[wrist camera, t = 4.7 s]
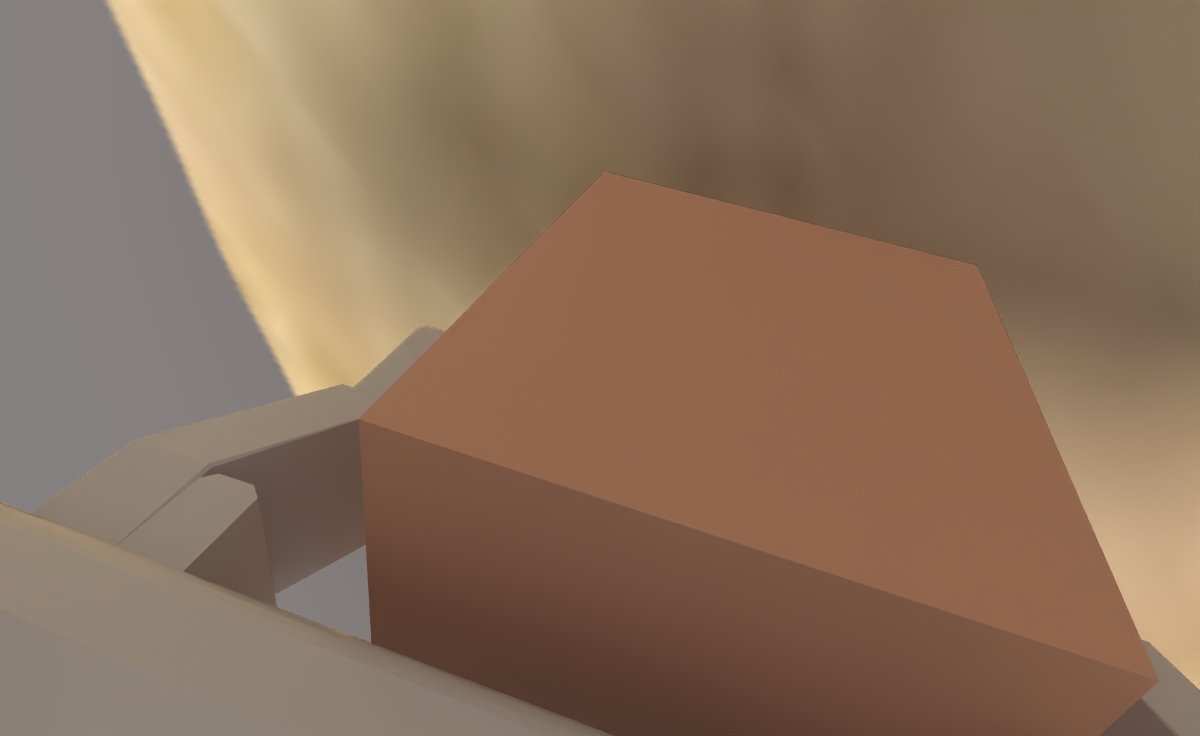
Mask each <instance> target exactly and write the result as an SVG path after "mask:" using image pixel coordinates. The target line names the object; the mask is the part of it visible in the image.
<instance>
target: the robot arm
mask: <svg viewBox="0 0 1200 736" xmlns="http://www.w3.org/2000/svg"><path fill="white" fill-rule="evenodd" d="M445 332H446V331H443V330H439V329H436V328H433V327H429V326H425V327H419V328H418V329H417V330H415V331H414V332H413V333H412V334H411V335H410V336H409V337H408V338H407V339H406V340H405V341H403V342H402V343H401V344H400V345H399V346H398V347H397V348H396V349H395V350H394V351H393V352H392V353H390V354H389V355H388V356H387V357H386V358H385V359H384V360H383V361H382V362H381V363H380V364H379V365H377V366H376V367H375V368H374V369H373V370H372V371H371V372H370V373H369V374H368V375H367V376H365V377H364V378H363V379H362V380H361V381H360V382H359V383H358V384H357V385H356V386H355V387H354V388H353V387H350V386H347V385H343V384H342V385H338V386H334V387H330V388H327V389H323V390H319V391H315V392H311V393H308V394H304V395H300V396H296V397H293V398H289V399H285V400H281V401H278V402H274V403H270V404H266V405H262V406H259V407H255V408H251V409H247V410H244V411H240V412H236V413H232V414H228V415H225V416H221V417H217V418H214V419H209V420H206V421H202V422H199V423H194V424H191V425H187V426H183V427H179V428H175V429H172V430H168V431H164V432H160V433H157V434H153V435H149V436H145V437H141V438H138V439H134V440H132V441H131V442H130V443H128V444H127V445H125V446H124V447H123V448H121V449H120V450H118V451H117V452H116V453H114V454H113V455H111V456H110V457H108V458H107V459H106V460H104V461H103V462H101V463H100V464H99V465H97V466H96V467H94V468H93V469H91V470H90V471H89V472H87V473H86V474H84V475H83V476H82V477H80V478H79V479H77V480H76V481H75V482H73V483H72V484H70V485H69V486H68V487H66V488H65V489H63V490H62V491H60V492H59V493H58V494H56V495H55V496H53V497H52V498H51V499H49V500H48V501H46V502H45V503H43V504H42V505H41V506H39V507H38V508H36V509H35V510H34V511H32V512H31V513H28V512H25V511H23V510H20V509H18V508H15V507H12V506H10V505H7V504H4V503H1V502H0V736H614V735H611V734H609V733H606V732H603V731H601V730H598V729H595V728H593V727H590V726H588V725H585V724H582V723H580V722H577V721H574V720H572V719H569V718H567V717H564V716H561V715H559V714H556V713H554V712H551V711H548V710H546V709H543V708H540V707H538V706H535V705H533V704H530V703H527V702H525V701H522V700H519V699H517V698H514V697H512V696H509V695H506V694H504V693H501V692H498V691H496V690H493V689H491V688H488V687H485V686H483V685H480V684H478V683H475V682H472V681H470V680H467V679H464V678H462V677H459V676H457V675H454V674H451V673H449V672H446V671H443V670H441V669H438V668H435V667H433V666H430V665H428V664H425V663H422V662H420V661H417V660H414V659H412V658H409V657H407V656H404V655H401V654H399V653H396V652H393V651H391V650H388V649H386V648H383V647H380V646H378V645H375V644H372V643H370V642H367V641H365V640H362V639H359V638H357V637H354V636H351V635H349V634H346V633H343V632H341V631H338V630H336V629H333V628H330V627H328V626H325V625H322V624H320V623H317V622H314V621H312V620H309V619H307V618H304V617H301V616H298V615H296V614H293V613H291V612H288V611H285V610H283V609H280V608H278V607H277V603H276V598H275V594H276V593H278V592H280V591H282V590H283V589H286V588H287V587H289V586H291V585H293V584H295V583H296V582H298V581H300V580H302V579H304V578H306V577H307V576H309V575H311V574H313V573H315V572H317V571H318V570H320V569H322V568H324V567H326V566H327V565H329V564H331V563H333V562H335V561H337V560H339V559H340V558H342V557H344V556H346V555H348V554H349V553H351V552H353V551H355V550H357V549H359V548H360V547H362V546H364V545H366V538H365V520H364V503H363V486H362V469H361V452H360V434H359V418H360V417H361V416H362V415H363V414H364V413H365V412H366V411H367V410H368V409H369V408H370V407H371V406H372V405H373V404H374V403H375V402H376V401H377V400H378V399H379V398H380V397H381V396H382V395H383V394H384V393H385V392H386V391H387V390H388V389H389V388H390V387H391V386H392V385H393V384H394V383H395V382H396V381H397V380H398V379H399V378H400V377H401V376H402V375H403V374H404V373H405V372H406V371H407V370H408V369H409V368H410V367H411V366H412V365H413V364H414V363H415V362H416V361H417V360H418V359H419V358H420V357H421V356H422V355H423V354H424V353H425V352H426V351H427V350H428V349H429V348H430V347H431V346H432V345H433V344H434V343H435V342H436V341H437V340H438V339H439V338H440V337H441V336H442V335H443V334H444V333H445ZM1141 641H1142V643H1143V645H1144V647H1145V650H1146V652H1147V654H1148V657H1149V659H1150V661H1151V663H1152V666H1153V668H1154V670H1155V673H1156V675H1157V677H1158V679H1159V682H1158V683H1156V684H1155V685H1154V686H1153V687H1152V688H1151V689H1150V690H1149V691H1148V692H1147V693H1145V694H1144V695H1143V696H1142V697H1141V698H1140V699H1139V700H1138V701H1137V702H1136V703H1134V704H1133V705H1132V706H1131V707H1130V708H1129V709H1128V710H1127V711H1126V712H1124V713H1123V714H1122V715H1121V716H1120V717H1119V718H1118V719H1117V720H1116V721H1115V722H1113V723H1112V724H1111V725H1110V726H1109V727H1108V728H1107V729H1106V730H1105V731H1104V732H1102V733H1101V734H1100V735H1099V736H1200V690H1199V689H1198V688H1197V687H1196V686H1195V685H1194V684H1193V683H1191V682H1190V681H1189V680H1188V679H1187V678H1186V677H1185V676H1184V675H1183V674H1182V673H1181V672H1180V671H1179V670H1178V669H1177V668H1176V667H1174V666H1173V665H1172V664H1171V663H1170V662H1169V661H1168V660H1167V659H1166V658H1165V657H1164V656H1163V655H1162V654H1161V653H1160V652H1159V651H1158V650H1156V649H1155V648H1154V647H1153V646H1152V645H1151V644H1150V643H1149V642H1147V641H1144V640H1141Z"/></svg>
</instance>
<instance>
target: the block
mask: <svg viewBox="0 0 1200 736" xmlns="http://www.w3.org/2000/svg"><path fill="white" fill-rule="evenodd" d="M359 434H360V452H361V469H362V486H363V503H364V520H365V538H366V555H367V572H368V588H369V607H370V623H371V640H372V644H375V645H378V646H380V647H383V648H386V649H388V650H391V651H393V652H396V653H399V654H401V655H404V656H407V657H409V658H412V659H414V660H417V661H420V662H422V663H425V664H428V665H430V666H433V667H435V668H438V669H441V670H443V671H446V672H449V673H451V674H454V675H457V676H459V677H462V678H464V679H467V680H470V681H472V682H475V683H478V684H480V685H483V686H485V687H488V688H491V689H493V690H496V691H498V692H501V693H504V694H506V695H509V696H512V697H514V698H517V699H519V700H522V701H525V702H527V703H530V704H533V705H535V706H538V707H540V708H543V709H546V710H548V711H551V712H554V713H556V714H559V715H561V716H564V717H567V718H569V719H572V720H574V721H577V722H580V723H582V724H585V725H588V726H590V727H593V728H595V729H598V730H601V731H603V732H606V733H609V734H611V735H614V736H1099V735H1100V734H1101V733H1102V732H1104V731H1105V730H1106V729H1107V728H1108V727H1109V726H1110V725H1111V724H1112V723H1113V722H1115V721H1116V720H1117V719H1118V718H1119V717H1120V716H1121V715H1122V714H1123V713H1124V712H1126V711H1127V710H1128V709H1129V708H1130V707H1131V706H1132V705H1133V704H1134V703H1136V702H1137V701H1138V700H1139V699H1140V698H1141V697H1142V696H1143V695H1144V694H1145V693H1147V692H1148V691H1149V690H1150V689H1151V688H1152V687H1153V686H1154V685H1155V684H1156V683H1158V682H1159V679H1158V677H1157V675H1156V673H1155V670H1154V668H1153V666H1152V663H1151V661H1150V659H1149V657H1148V654H1147V652H1146V650H1145V647H1144V645H1143V643H1142V641H1141V638H1140V636H1139V634H1138V631H1137V629H1136V627H1135V625H1134V622H1133V620H1132V618H1131V615H1130V613H1129V611H1128V609H1127V606H1126V604H1125V602H1124V599H1123V597H1122V595H1121V593H1120V590H1119V588H1118V586H1117V584H1116V581H1115V579H1114V577H1113V574H1112V572H1111V570H1110V568H1109V565H1108V563H1107V561H1106V558H1105V556H1104V554H1103V552H1102V549H1101V547H1100V545H1099V542H1098V540H1097V538H1096V536H1095V533H1094V531H1093V529H1092V526H1091V524H1090V522H1089V520H1088V517H1087V515H1086V513H1085V510H1084V508H1083V506H1082V504H1081V501H1080V499H1079V497H1078V494H1077V492H1076V490H1075V488H1074V485H1073V483H1072V481H1071V478H1070V476H1069V474H1068V472H1067V469H1066V467H1065V465H1064V462H1063V460H1062V458H1061V456H1060V453H1059V451H1058V449H1057V446H1056V444H1055V442H1054V440H1053V437H1052V435H1051V433H1050V430H1049V428H1048V426H1047V424H1046V421H1045V419H1044V417H1043V415H1042V412H1041V410H1040V408H1039V405H1038V403H1037V401H1036V399H1035V396H1034V394H1033V392H1032V389H1031V387H1030V385H1029V383H1028V380H1027V378H1026V376H1025V373H1024V371H1023V369H1022V367H1021V364H1020V362H1019V360H1018V357H1017V355H1016V353H1015V351H1014V348H1013V346H1012V344H1011V341H1010V339H1009V337H1008V335H1007V332H1006V330H1005V328H1004V325H1003V323H1002V321H1001V319H1000V316H999V314H998V312H997V309H996V307H995V305H994V303H993V300H992V298H991V296H990V293H989V291H988V289H987V287H986V284H985V282H984V280H983V277H982V275H981V273H980V271H979V268H978V266H977V265H973V264H969V263H965V262H961V261H957V260H954V259H950V258H946V257H942V256H938V255H934V254H930V253H926V252H922V251H918V250H914V249H910V248H906V247H902V246H898V245H894V244H890V243H886V242H882V241H878V240H874V239H870V238H866V237H862V236H858V235H854V234H850V233H846V232H842V231H838V230H834V229H830V228H826V227H822V226H818V225H814V224H810V223H807V222H803V221H799V220H795V219H791V218H787V217H783V216H779V215H775V214H771V213H767V212H763V211H759V210H755V209H751V208H747V207H743V206H739V205H735V204H731V203H727V202H723V201H719V200H715V199H711V198H707V197H703V196H699V195H695V194H691V193H687V192H683V191H679V190H675V189H671V188H667V187H663V186H660V185H656V184H652V183H648V182H644V181H640V180H636V179H632V178H628V177H624V176H620V175H616V174H612V173H608V172H604V173H603V174H602V175H601V176H600V177H599V178H598V179H597V180H596V181H595V182H594V183H593V184H592V185H591V186H590V187H589V188H588V189H587V190H586V191H585V192H584V193H583V194H582V195H581V196H580V197H579V198H578V199H577V200H576V201H575V202H574V203H573V204H572V205H571V206H570V207H569V208H568V209H567V210H566V211H565V212H564V213H563V214H562V215H561V216H560V217H559V218H558V219H557V220H556V221H555V222H554V223H553V224H552V225H551V226H550V227H549V228H548V229H547V230H546V231H545V232H544V233H543V234H542V235H541V236H540V237H539V238H538V239H537V240H536V241H535V242H534V243H533V244H532V245H531V246H530V247H529V248H528V249H527V250H526V251H525V252H524V253H523V254H522V255H521V256H520V257H519V258H518V259H517V260H516V261H515V262H514V263H513V264H512V265H511V266H510V267H509V268H508V269H507V270H506V271H505V272H504V273H503V274H502V275H501V276H500V277H499V278H498V279H497V280H496V281H495V282H494V283H493V284H492V285H491V286H490V287H489V288H488V289H487V290H486V291H485V293H484V294H483V295H482V296H481V297H480V298H479V299H478V300H477V301H476V302H475V303H474V304H473V305H472V306H471V307H470V308H469V309H468V310H467V311H466V312H465V313H464V314H463V315H462V316H461V317H460V318H459V319H458V320H457V321H456V322H455V323H454V324H453V325H452V326H451V327H450V328H449V329H448V330H447V331H446V332H445V333H444V334H443V335H442V336H441V337H440V338H439V339H438V340H437V341H436V342H435V343H434V344H433V345H432V346H431V347H430V348H429V349H428V350H427V351H426V352H425V353H424V354H423V355H422V356H421V357H420V358H419V359H418V360H417V361H416V362H415V363H414V364H413V365H412V366H411V367H410V368H409V369H408V370H407V371H406V372H405V373H404V374H403V375H402V376H401V377H400V378H399V379H398V380H397V381H396V382H395V383H394V384H393V385H392V386H391V387H390V388H389V389H388V390H387V391H386V392H385V393H384V394H383V395H382V396H381V397H380V398H379V399H378V400H377V401H376V402H375V403H374V404H373V405H372V406H371V407H370V408H369V409H368V410H367V411H366V412H365V413H364V414H363V415H362V416H361V417H360V418H359Z"/></svg>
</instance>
